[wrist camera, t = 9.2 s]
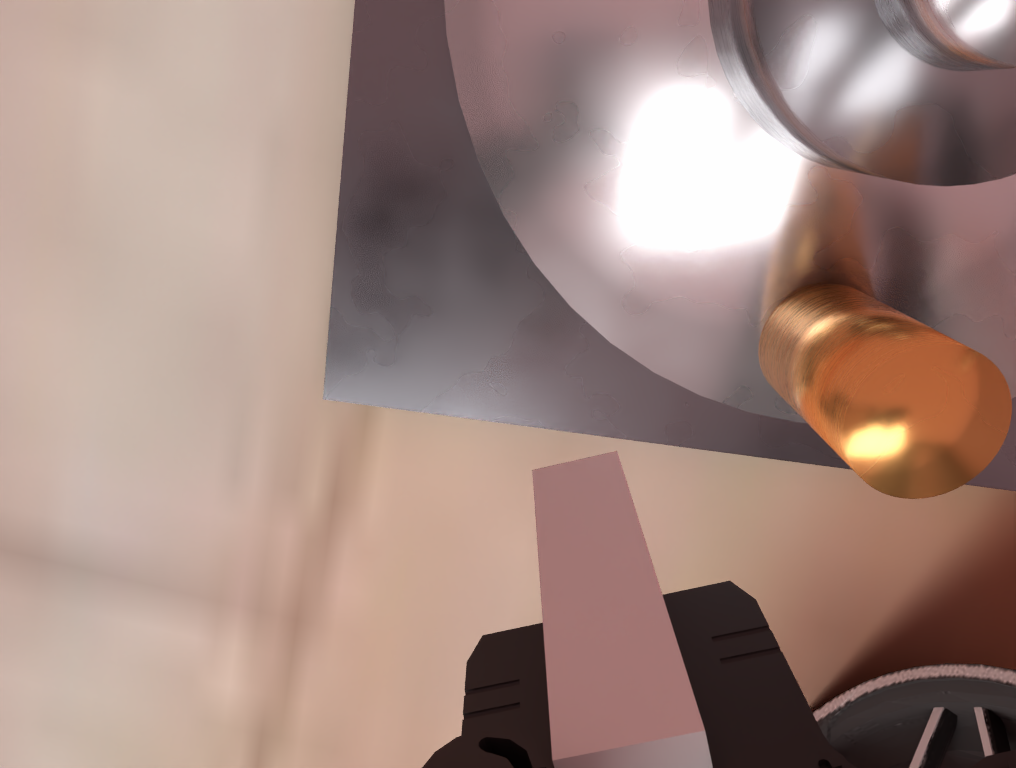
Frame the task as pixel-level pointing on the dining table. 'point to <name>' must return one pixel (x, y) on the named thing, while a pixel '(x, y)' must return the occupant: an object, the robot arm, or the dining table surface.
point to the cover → (879, 83)
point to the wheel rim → (924, 717)
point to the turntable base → (487, 282)
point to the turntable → (742, 238)
